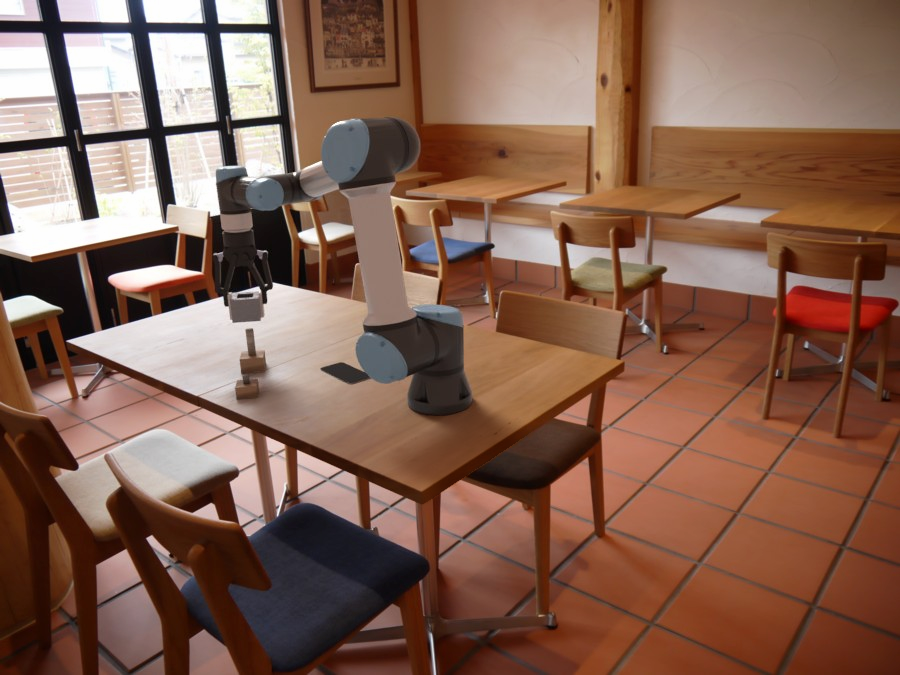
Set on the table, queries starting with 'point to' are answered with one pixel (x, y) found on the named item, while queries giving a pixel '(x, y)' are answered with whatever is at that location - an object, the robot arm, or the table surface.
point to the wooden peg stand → (252, 356)
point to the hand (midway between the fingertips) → (247, 316)
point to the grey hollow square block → (245, 307)
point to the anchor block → (247, 388)
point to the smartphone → (345, 373)
